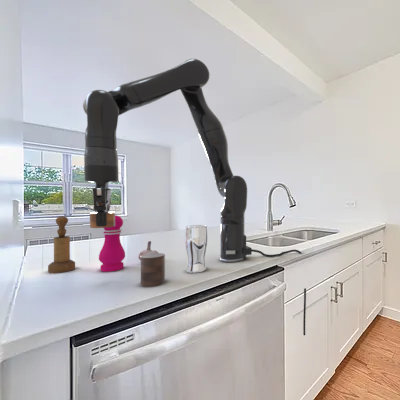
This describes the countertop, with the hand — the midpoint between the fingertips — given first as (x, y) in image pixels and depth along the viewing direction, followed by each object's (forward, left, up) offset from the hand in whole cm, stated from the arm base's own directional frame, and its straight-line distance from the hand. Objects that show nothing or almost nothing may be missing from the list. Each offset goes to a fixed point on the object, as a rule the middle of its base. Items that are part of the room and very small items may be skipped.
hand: (102, 224), depth 71 cm
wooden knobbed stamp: (+13, -24, -17) cm, 32 cm away
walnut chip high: (-12, +6, -13) cm, 19 cm away
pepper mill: (-1, -17, -17) cm, 24 cm away
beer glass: (-25, -1, -17) cm, 30 cm away
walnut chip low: (-12, +6, -17) cm, 22 cm away
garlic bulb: (-12, -21, -17) cm, 29 cm away
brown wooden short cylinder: (0, 0, -1) cm, 1 cm away
